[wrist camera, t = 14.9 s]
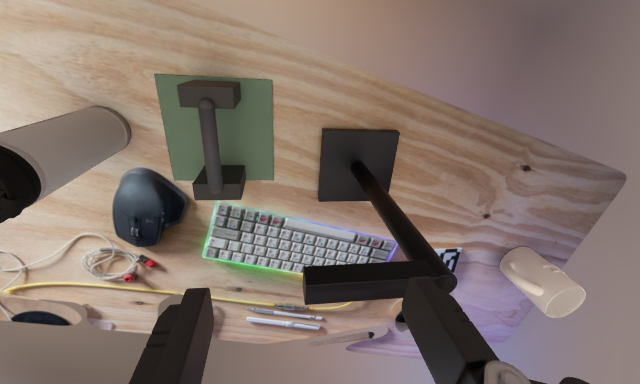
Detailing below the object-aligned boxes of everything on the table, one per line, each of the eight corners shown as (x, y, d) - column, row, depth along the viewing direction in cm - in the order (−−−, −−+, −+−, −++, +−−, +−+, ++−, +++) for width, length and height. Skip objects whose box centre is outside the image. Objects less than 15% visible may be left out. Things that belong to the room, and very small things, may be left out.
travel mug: (128, 158, 40) (12, 241, 22) (76, 139, 38) (-99, 214, 20) (138, 119, 38) (19, 176, 20) (83, 97, 36) (-104, 139, 18)
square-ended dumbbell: (193, 79, 36) (172, 85, 29) (239, 81, 37) (231, 88, 30) (206, 179, 43) (191, 205, 35) (246, 179, 44) (240, 204, 36)
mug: (498, 239, 58) (548, 280, 48) (540, 248, 61) (596, 289, 51) (478, 269, 61) (520, 314, 51) (518, 276, 64) (567, 320, 54)
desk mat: (155, 73, 36) (153, 74, 36) (271, 80, 38) (271, 80, 38) (174, 179, 42) (174, 180, 42) (273, 179, 45) (273, 180, 44)
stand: (289, 127, 41) (308, 226, 18) (396, 130, 44) (539, 219, 20) (288, 198, 47) (302, 348, 23) (384, 196, 49) (486, 330, 25)
